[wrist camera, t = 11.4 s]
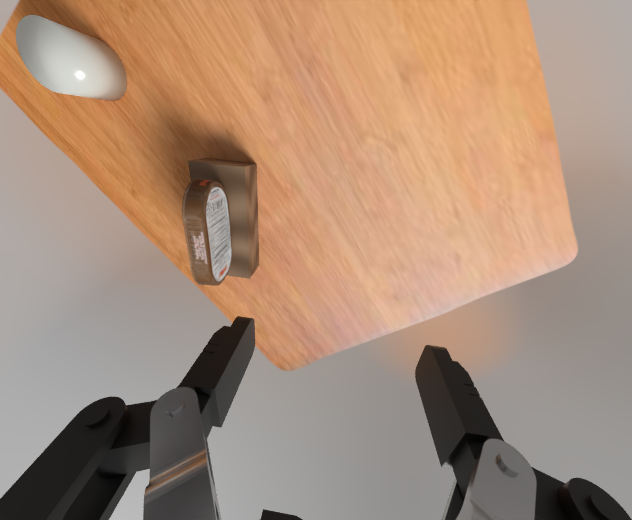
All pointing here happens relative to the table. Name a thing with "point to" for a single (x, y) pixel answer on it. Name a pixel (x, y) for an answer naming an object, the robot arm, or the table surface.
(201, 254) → the tin
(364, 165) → the table surface
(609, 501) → the robot arm
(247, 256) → the brown rectangular block
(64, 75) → the white rounded capsule
